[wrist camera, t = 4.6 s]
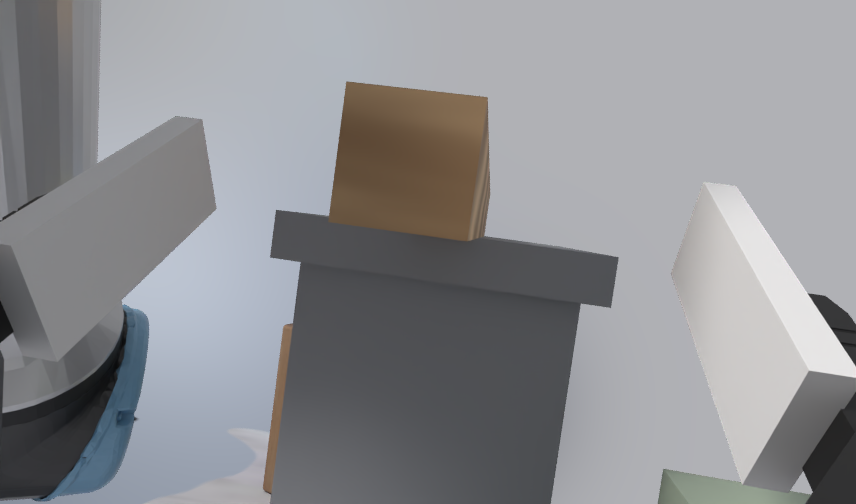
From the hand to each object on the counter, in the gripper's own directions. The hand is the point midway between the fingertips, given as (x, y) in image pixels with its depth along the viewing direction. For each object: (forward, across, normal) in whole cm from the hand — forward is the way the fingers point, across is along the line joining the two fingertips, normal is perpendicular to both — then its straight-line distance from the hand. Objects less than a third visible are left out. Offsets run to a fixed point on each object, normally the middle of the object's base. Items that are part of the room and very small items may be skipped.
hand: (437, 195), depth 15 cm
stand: (0, 0, -36) cm, 36 cm away
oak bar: (+9, 0, -6) cm, 11 cm away
